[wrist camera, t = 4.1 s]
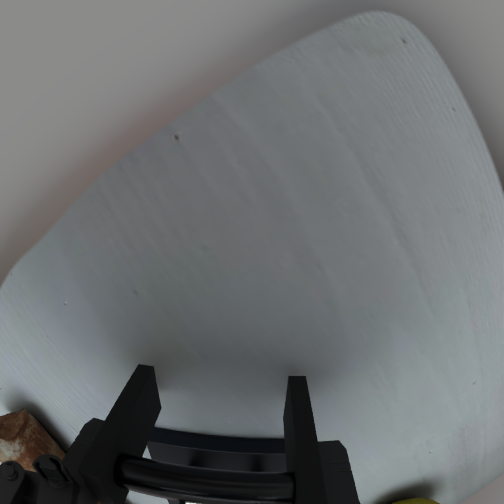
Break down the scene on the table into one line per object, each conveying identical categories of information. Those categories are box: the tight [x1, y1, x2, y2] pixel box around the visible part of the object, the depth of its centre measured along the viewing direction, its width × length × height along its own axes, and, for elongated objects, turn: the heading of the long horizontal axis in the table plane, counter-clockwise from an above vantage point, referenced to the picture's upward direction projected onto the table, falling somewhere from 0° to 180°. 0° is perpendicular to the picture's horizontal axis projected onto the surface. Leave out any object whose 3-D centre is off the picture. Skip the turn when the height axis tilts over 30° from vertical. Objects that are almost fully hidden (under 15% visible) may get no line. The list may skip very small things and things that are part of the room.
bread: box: [0, 409, 100, 504], centre depth 15 cm, size 6×19×6 cm, turn 21°
